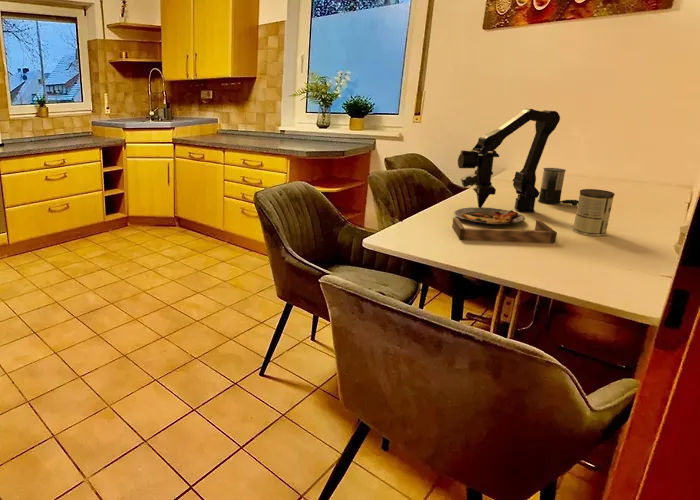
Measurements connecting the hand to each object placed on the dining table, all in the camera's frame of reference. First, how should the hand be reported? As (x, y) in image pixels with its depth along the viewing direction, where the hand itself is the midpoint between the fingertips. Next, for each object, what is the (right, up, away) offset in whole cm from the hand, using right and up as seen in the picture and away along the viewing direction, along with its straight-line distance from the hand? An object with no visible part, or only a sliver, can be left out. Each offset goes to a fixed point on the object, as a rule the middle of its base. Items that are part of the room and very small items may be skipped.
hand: (479, 207), depth 179 cm
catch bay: (-2, -12, -30) cm, 32 cm away
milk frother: (+39, +3, +17) cm, 43 cm away
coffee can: (+31, -11, -25) cm, 41 cm away
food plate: (0, -6, -12) cm, 13 cm away
